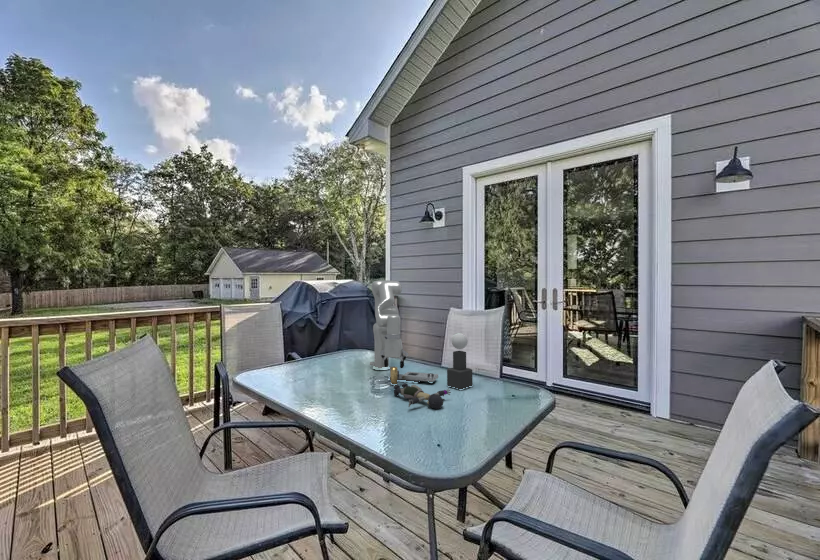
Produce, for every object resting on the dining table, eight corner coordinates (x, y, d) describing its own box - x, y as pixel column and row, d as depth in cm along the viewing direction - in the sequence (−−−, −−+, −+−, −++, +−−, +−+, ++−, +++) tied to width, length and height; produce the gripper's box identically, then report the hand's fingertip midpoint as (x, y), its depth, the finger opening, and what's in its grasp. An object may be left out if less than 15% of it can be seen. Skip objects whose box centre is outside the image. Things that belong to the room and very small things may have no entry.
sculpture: (459, 383, 212) (458, 331, 212) (472, 387, 204) (472, 333, 205) (446, 386, 206) (446, 332, 206) (460, 390, 198) (459, 334, 198)
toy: (379, 401, 183) (419, 418, 160) (378, 386, 183) (418, 402, 160) (419, 390, 200) (460, 404, 177) (419, 377, 200) (460, 389, 177)
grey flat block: (388, 380, 219) (388, 372, 219) (394, 376, 228) (394, 368, 228) (432, 385, 209) (432, 376, 209) (438, 381, 218) (438, 372, 218)
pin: (389, 385, 209) (389, 367, 209) (392, 383, 213) (392, 366, 213) (395, 386, 207) (395, 368, 207) (398, 384, 211) (398, 366, 211)
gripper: (377, 337, 210) (377, 367, 209) (405, 338, 203) (405, 369, 203) (383, 335, 217) (383, 365, 216) (410, 336, 210) (410, 367, 210)
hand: (394, 367), depth 209 cm, fingers open, 9 cm apart
